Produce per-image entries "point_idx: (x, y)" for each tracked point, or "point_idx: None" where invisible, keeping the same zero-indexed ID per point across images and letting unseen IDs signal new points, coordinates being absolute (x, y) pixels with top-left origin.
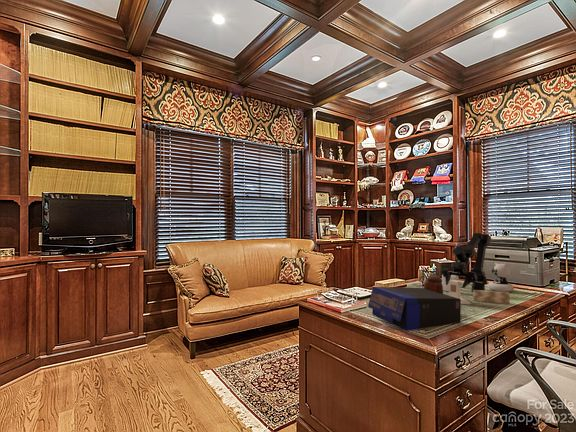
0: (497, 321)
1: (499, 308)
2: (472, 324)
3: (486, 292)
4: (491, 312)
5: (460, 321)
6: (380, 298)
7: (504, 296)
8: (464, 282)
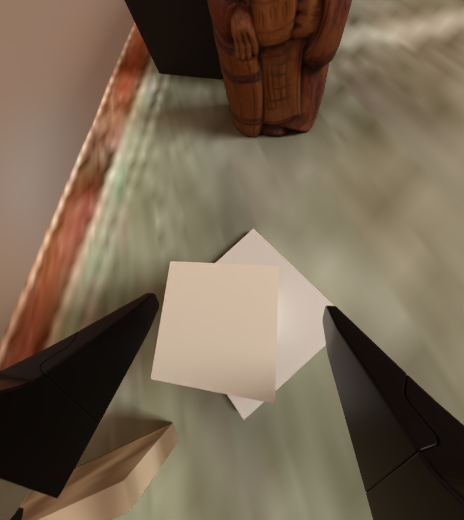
0: (82, 154)
1: (68, 328)
2: (133, 82)
3: (51, 507)
4: (94, 237)
5: (157, 68)
6: None
7: None
8: (103, 325)
